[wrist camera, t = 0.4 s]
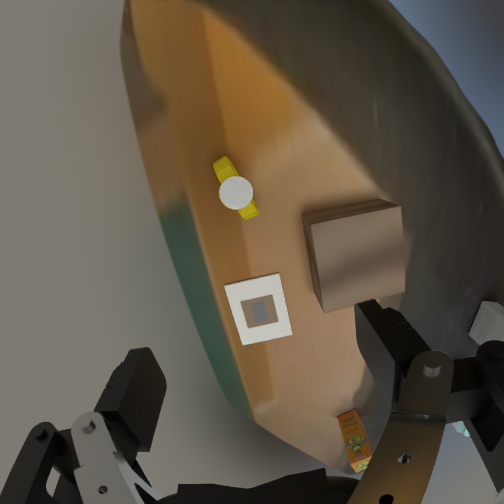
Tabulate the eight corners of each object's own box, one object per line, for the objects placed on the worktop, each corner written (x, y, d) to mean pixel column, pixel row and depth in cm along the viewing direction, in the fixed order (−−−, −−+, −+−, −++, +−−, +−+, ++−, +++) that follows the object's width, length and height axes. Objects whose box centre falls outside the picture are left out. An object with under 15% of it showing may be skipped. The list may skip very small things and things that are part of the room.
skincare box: (482, 333, 36) (524, 374, 25) (465, 334, 36) (509, 378, 25) (496, 299, 35) (544, 336, 23) (481, 298, 34) (530, 338, 23)
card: (224, 285, 33) (224, 286, 32) (278, 272, 32) (279, 273, 32) (242, 343, 35) (242, 345, 35) (292, 333, 35) (292, 335, 34)
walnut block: (300, 214, 31) (310, 224, 26) (379, 198, 30) (400, 206, 25) (313, 291, 33) (324, 313, 29) (386, 273, 33) (404, 291, 28)
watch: (209, 166, 29) (200, 168, 23) (233, 152, 28) (230, 150, 23) (240, 217, 30) (239, 231, 25) (264, 203, 30) (268, 214, 24)
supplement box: (355, 407, 39) (373, 456, 30) (360, 417, 40) (378, 464, 31) (335, 416, 40) (350, 466, 30) (341, 426, 41) (356, 474, 31)
